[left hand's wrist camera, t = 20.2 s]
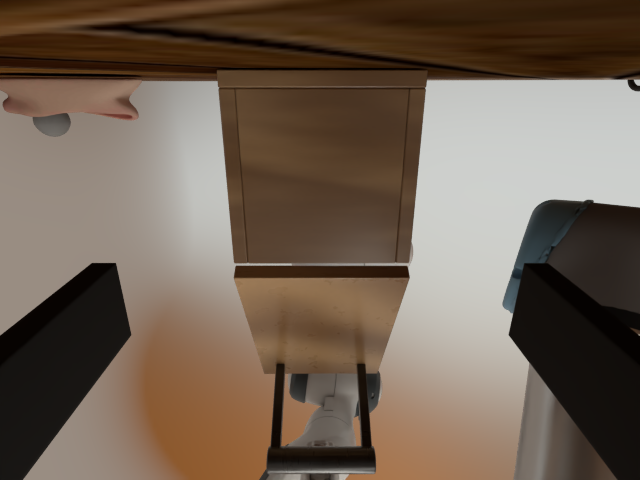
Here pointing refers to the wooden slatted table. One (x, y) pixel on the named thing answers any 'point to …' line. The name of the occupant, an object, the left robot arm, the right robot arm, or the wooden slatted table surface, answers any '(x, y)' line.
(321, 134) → the chest
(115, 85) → the anatomical model
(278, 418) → the lid
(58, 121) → the light bulb
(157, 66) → the wooden slatted table surface
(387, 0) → the wooden slatted table surface
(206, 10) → the wooden slatted table surface
